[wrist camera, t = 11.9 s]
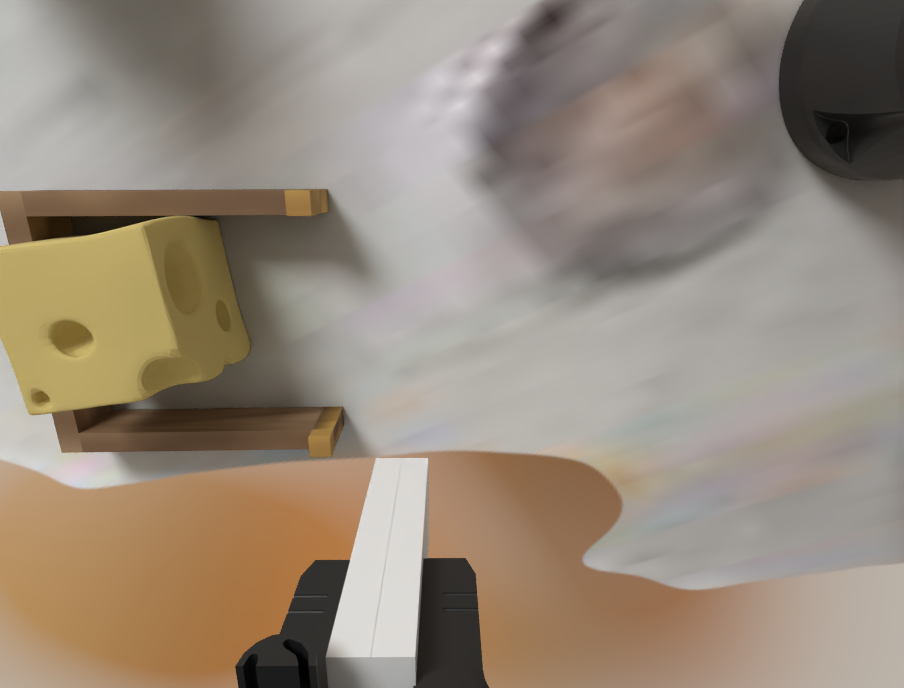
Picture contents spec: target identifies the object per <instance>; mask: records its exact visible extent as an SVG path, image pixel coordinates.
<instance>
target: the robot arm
mask: <svg viewBox="0 0 904 688" xmlns="http://www.w3.org/2000/svg"><path fill="white" fill-rule="evenodd" d="M779 92H780V102H781V108H782V112H783V116H784V119H785V123H786V125H787V127H788V130H789V132H790V134H791V136H792V138H793V139H794V141H795V143H796V144H797V146H798V147H799V148H800V150H801V151H802V152H803V153H804V154H805V155H806V156H807V157H808V158H809V159H810V160H811V161H812V162H814V163H815V164H816V165H818V166H819V167H821V168H822V169H824V170H826V171H828V172H830V173H832V174H835V175H838V176H841V177H844V178H849V179H856V180H897V179H904V0H804V1H803V3H802V4H801V6H800V8H799V10H798V12H797V14H796V16H795V18H794V20H793V22H792V25H791V27H790V30H789V32H788V35H787V38H786V41H785V45H784V49H783V53H782V58H781V65H780V75H779ZM428 500H429V499H428V458H376V460H375V464H374V468H373V472H372V476H371V480H370V484H369V488H368V492H367V496H366V500H365V504H364V508H363V512H362V516H361V519H360V523H359V528H358V531H357V535H356V539H355V543H354V547H353V551H352V555H351V559H350V560H315V561H314V562H313V564H312V565H311V566H310V567H309V568H308V569H307V570H306V571H305V572H304V573H303V575H301V577H300V580H299V583H298V585H297V588H296V591H295V594H294V598H293V599H292V602H291V605H290V608H289V610H288V611H289V612H288V614H287V615H286V618H285V621H284V624H283V626H282V629H281V632H280V634H278V635H272V636H270V637H267V638H265V639H263V640H261V641H259V642H257V643H256V644H254V645H253V646H252V647H251V648H250V649H248V650H247V651H246V652H245V653H244V654H243V656H242V657H241V659H240V660H239V662H238V663H237V665H236V666H235V667H236V674H237V680H238V687H239V688H489V687H488V685H487V683H486V681H485V678H484V673H483V666H482V654H481V640H480V628H479V627H480V626H479V614H478V601H477V586H476V574H475V572H474V571H473V569H472V568H471V566H470V564H469V563H468V561H467V560H466V558H428V546H429V501H428Z"/></svg>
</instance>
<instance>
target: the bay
mask: <svg viewBox="0 0 904 688" xmlns="http://www.w3.org/2000/svg"><path fill="white" fill-rule="evenodd" d="M0 211H1V215H2V219H3V223H4V227H5V231H6V235H7V239H8V243H9V245H12V244H19V243H26V242H33V241H40V240H46V239H53V238H61V237H69V236H75V235H74V230H73V226H72V221H71V217H70V216H186V215H287V216H313V215H317V214H321V213H325V212H328V211H329V207H328V193H327V189H254V190H41V191H0ZM52 416H53V420H54V424H55V428H56V432H57V435H58V439H59V443H60V447H61V451H62V453H66V452H132V451H198V450H265V449H309V453H310V457H331V456H332V454H333V451H334V449H335V446H336V443H337V441H338V438H339V436H340V433H341V431H342V428H343V426H344V415H343V407H288V408H213V409H139V410H112V406H111V405H106V406H98V407H92V408H85V409H78V410H69V411H62V412H55V413H52Z"/></svg>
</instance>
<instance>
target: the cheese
mask: <svg viewBox="0 0 904 688" xmlns="http://www.w3.org/2000/svg"><path fill="white" fill-rule="evenodd" d="M0 338H1V340H2V342H3V345H4V347H5V350H6V352H7V354H8V357H9V360H10V362H11V365H12V367H13V370H14V373H15V375H16V378H17V381H18V384H19V387H20V390H21V393H22V396H23V399H24V402H25V405H26V408H27V410H28V413H29V414H30V415H40V414H48V413H55V412H62V411H69V410H78V409H85V408H92V407H98V406H106V405H114V404H124V403H131V402H137V401H142V400H145V399H147V398H149V397H151V396H152V395H154V394H156V393H157V392H159V391H161V390H163V389H166V388H168V387H171V386H175V385H179V384H186V383H197V382H204V381H208V380H211V379H213V378H215V377H217V376H218V375H219V374H220V373H222V372H223V370H224V365H226V364H234V363H238V362H240V361H242V360H243V359H244V358H246V357H247V356H248V354H249V351H250V348H251V346H250V340H249V337H248V334H247V331H246V328H245V325H244V323H243V320H242V317H241V314H240V310H239V307H238V303H237V299H236V295H235V291H234V287H233V283H232V279H231V275H230V271H229V267H228V263H227V258H226V254H225V250H224V245H223V241H222V236H221V232H220V228H219V224H218V222H217V221H216V220H207V219H202V218H197V217H191V216H170V217H164V218H158V219H153V220H149V221H145V222H141V223H137V224H133V225H130V226H126V227H122V228H118V229H114V230H110V231H106V232H102V233H94V234H84V235H76V236H69V237H61V238H53V239H46V240H40V241H33V242H26V243H19V244H12V245H6V246H0Z"/></svg>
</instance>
